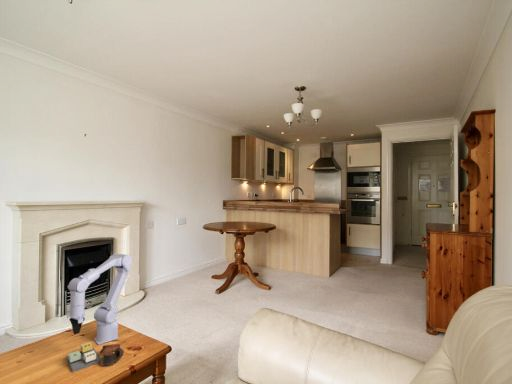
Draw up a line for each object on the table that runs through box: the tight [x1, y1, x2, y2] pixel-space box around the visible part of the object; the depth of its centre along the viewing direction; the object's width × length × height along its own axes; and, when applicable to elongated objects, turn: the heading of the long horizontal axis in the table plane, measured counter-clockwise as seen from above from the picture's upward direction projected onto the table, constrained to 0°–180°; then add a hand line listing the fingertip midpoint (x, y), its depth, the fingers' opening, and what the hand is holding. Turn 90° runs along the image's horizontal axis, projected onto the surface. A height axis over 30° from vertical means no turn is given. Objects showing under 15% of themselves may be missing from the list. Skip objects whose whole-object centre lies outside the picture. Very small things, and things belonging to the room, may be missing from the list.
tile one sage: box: [67, 349, 81, 363], centre depth 124 cm, size 4×4×2 cm
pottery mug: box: [99, 343, 125, 367], centre depth 127 cm, size 12×10×8 cm
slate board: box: [65, 347, 102, 373], centre depth 126 cm, size 11×13×1 cm
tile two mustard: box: [80, 341, 94, 353], centre depth 130 cm, size 4×4×2 cm
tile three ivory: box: [84, 351, 96, 362], centre depth 124 cm, size 4×4×2 cm
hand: (76, 333), depth 131 cm, fingers closed
